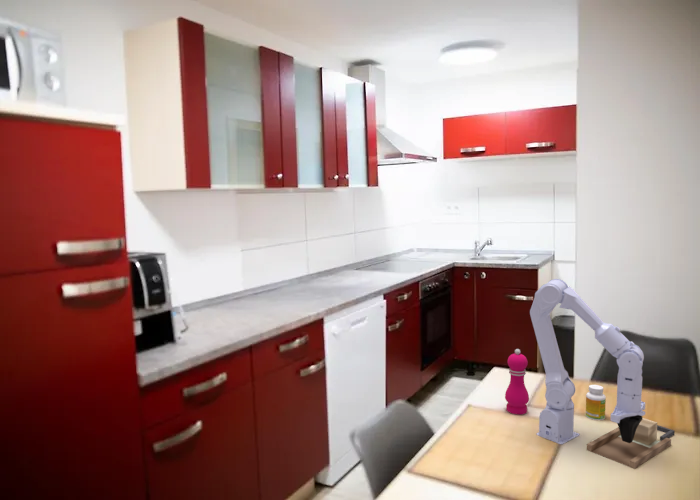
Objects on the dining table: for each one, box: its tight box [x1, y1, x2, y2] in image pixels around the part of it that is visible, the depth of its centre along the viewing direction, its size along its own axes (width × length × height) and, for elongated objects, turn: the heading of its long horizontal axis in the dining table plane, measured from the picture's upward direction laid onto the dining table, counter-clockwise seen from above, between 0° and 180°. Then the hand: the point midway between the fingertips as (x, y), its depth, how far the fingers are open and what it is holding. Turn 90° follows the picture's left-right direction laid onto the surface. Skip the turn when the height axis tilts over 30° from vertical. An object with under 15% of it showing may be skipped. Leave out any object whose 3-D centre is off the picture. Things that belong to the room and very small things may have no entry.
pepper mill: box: [504, 348, 530, 415], centre depth 167 cm, size 7×7×20 cm
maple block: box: [633, 417, 658, 445], centre depth 146 cm, size 5×5×5 cm
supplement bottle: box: [585, 384, 607, 421], centre depth 161 cm, size 5×5×10 cm
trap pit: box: [657, 424, 675, 441], centre depth 150 cm, size 7×8×2 cm
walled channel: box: [586, 426, 672, 470], centre depth 142 cm, size 20×12×2 cm, turn 126°
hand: (627, 441), depth 141 cm, fingers closed
